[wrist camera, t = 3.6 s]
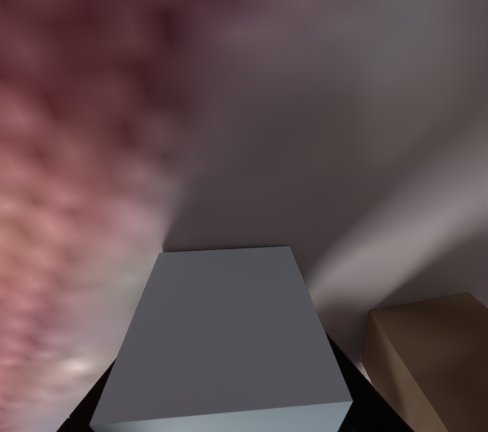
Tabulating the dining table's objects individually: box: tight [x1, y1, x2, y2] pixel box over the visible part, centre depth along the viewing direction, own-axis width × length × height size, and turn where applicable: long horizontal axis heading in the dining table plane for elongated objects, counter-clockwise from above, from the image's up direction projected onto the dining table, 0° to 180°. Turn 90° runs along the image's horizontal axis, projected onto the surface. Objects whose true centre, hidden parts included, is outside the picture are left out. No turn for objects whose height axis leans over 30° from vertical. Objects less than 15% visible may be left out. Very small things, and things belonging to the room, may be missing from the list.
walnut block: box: [362, 293, 488, 432], centre depth 10 cm, size 5×5×5 cm
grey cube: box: [89, 246, 353, 432], centre depth 8 cm, size 5×5×5 cm
